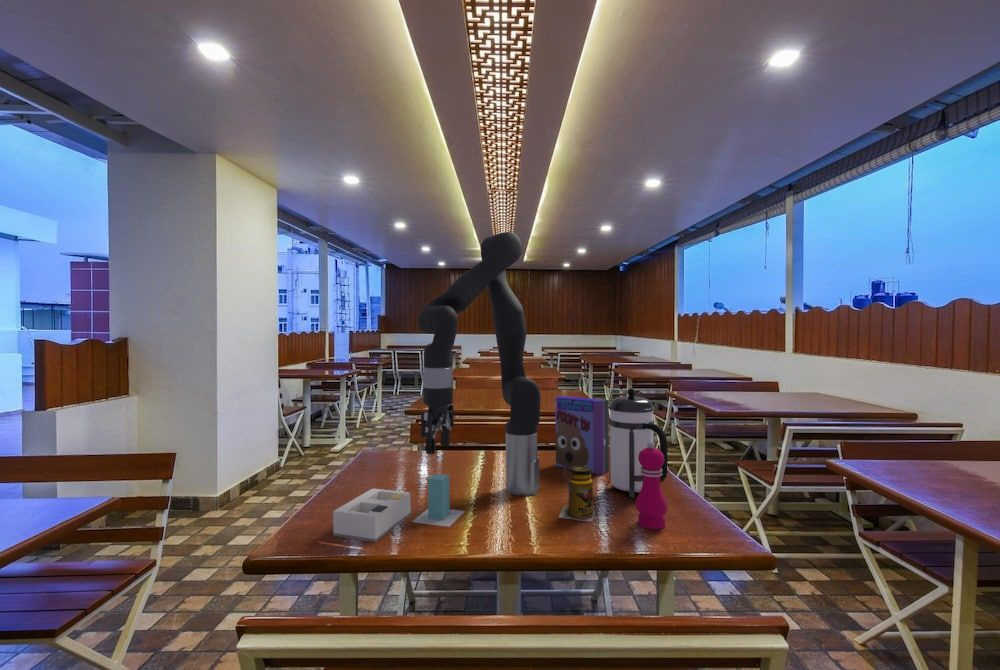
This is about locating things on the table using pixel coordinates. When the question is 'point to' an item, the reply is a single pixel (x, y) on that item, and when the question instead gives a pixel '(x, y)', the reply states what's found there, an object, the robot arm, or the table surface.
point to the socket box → (371, 514)
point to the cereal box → (582, 433)
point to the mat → (446, 522)
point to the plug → (438, 497)
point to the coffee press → (632, 441)
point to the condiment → (579, 495)
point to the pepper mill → (651, 489)
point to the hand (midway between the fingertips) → (438, 449)
